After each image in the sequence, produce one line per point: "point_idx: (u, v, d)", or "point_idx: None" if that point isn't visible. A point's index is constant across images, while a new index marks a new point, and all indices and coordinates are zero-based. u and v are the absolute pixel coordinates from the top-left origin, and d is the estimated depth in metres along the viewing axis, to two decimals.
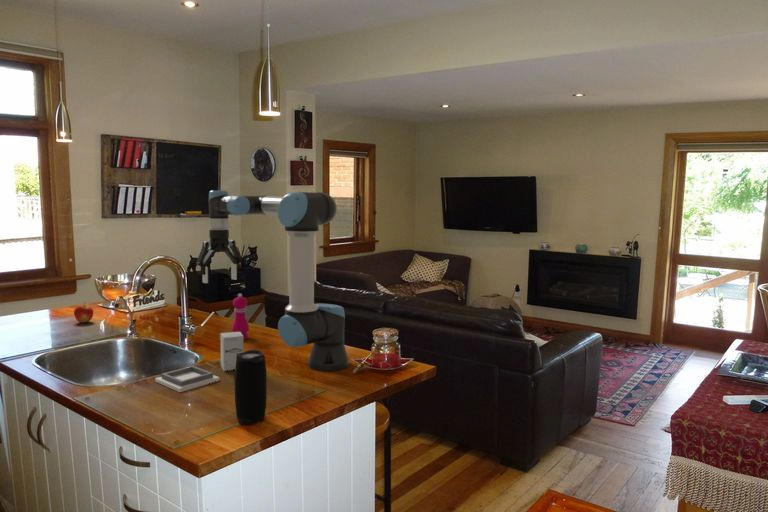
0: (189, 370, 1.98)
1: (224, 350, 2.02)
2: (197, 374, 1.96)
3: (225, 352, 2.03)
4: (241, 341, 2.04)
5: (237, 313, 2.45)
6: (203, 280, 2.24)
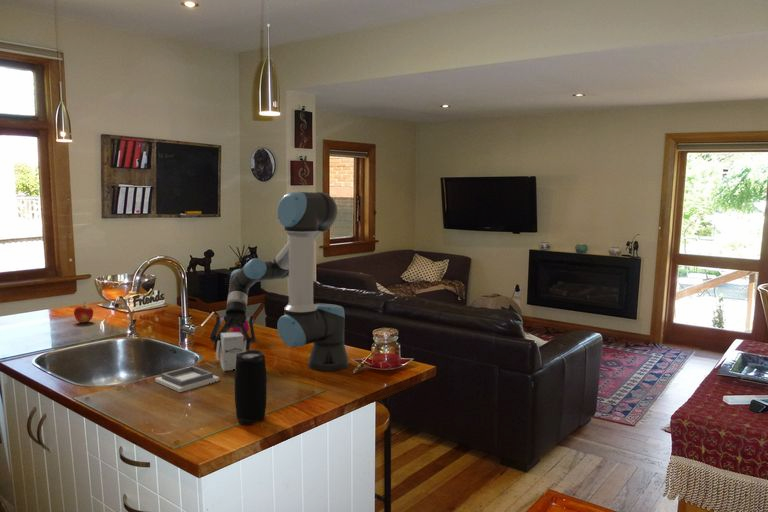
0: (189, 370, 1.98)
1: (224, 350, 2.02)
2: (197, 374, 1.96)
3: (225, 352, 2.03)
4: (241, 341, 2.04)
5: None
6: None
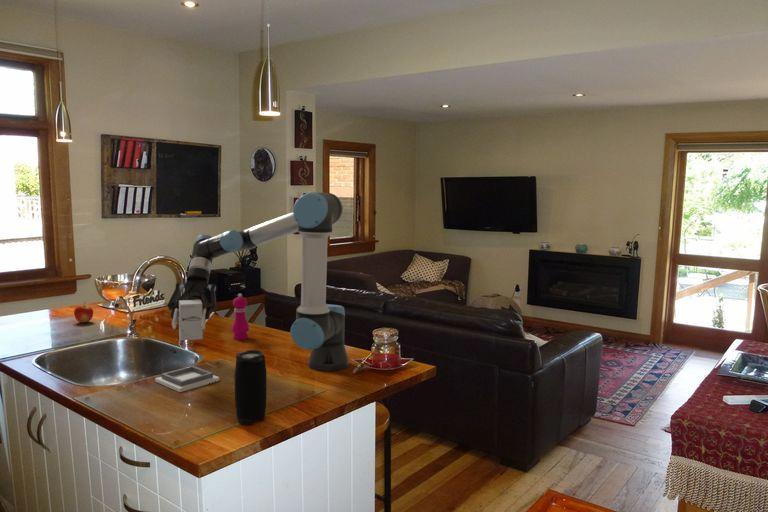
0: (189, 370, 1.98)
1: (181, 318, 1.89)
2: (197, 374, 1.96)
3: (182, 320, 1.89)
4: (200, 309, 1.91)
5: (237, 313, 2.45)
6: None
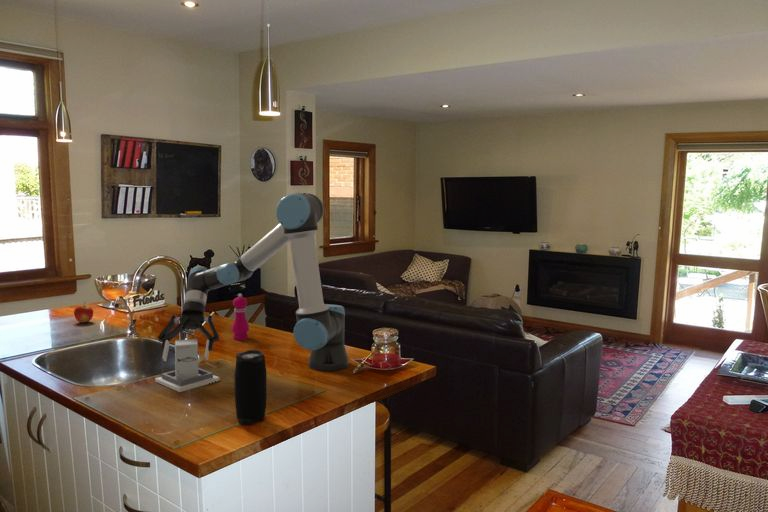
0: None
1: (176, 359, 1.87)
2: None
3: (177, 361, 1.87)
4: (195, 349, 1.89)
5: (237, 313, 2.45)
6: None
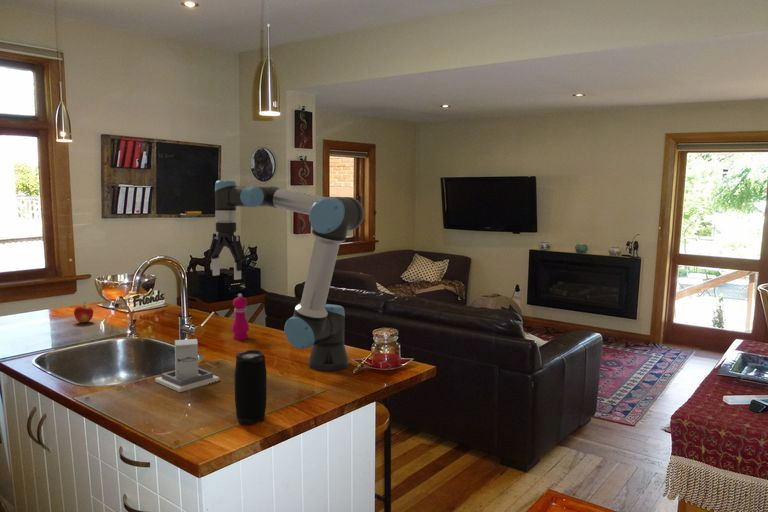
0: None
1: (176, 359, 1.87)
2: None
3: (177, 361, 1.87)
4: (195, 349, 1.89)
5: (237, 313, 2.45)
6: None
